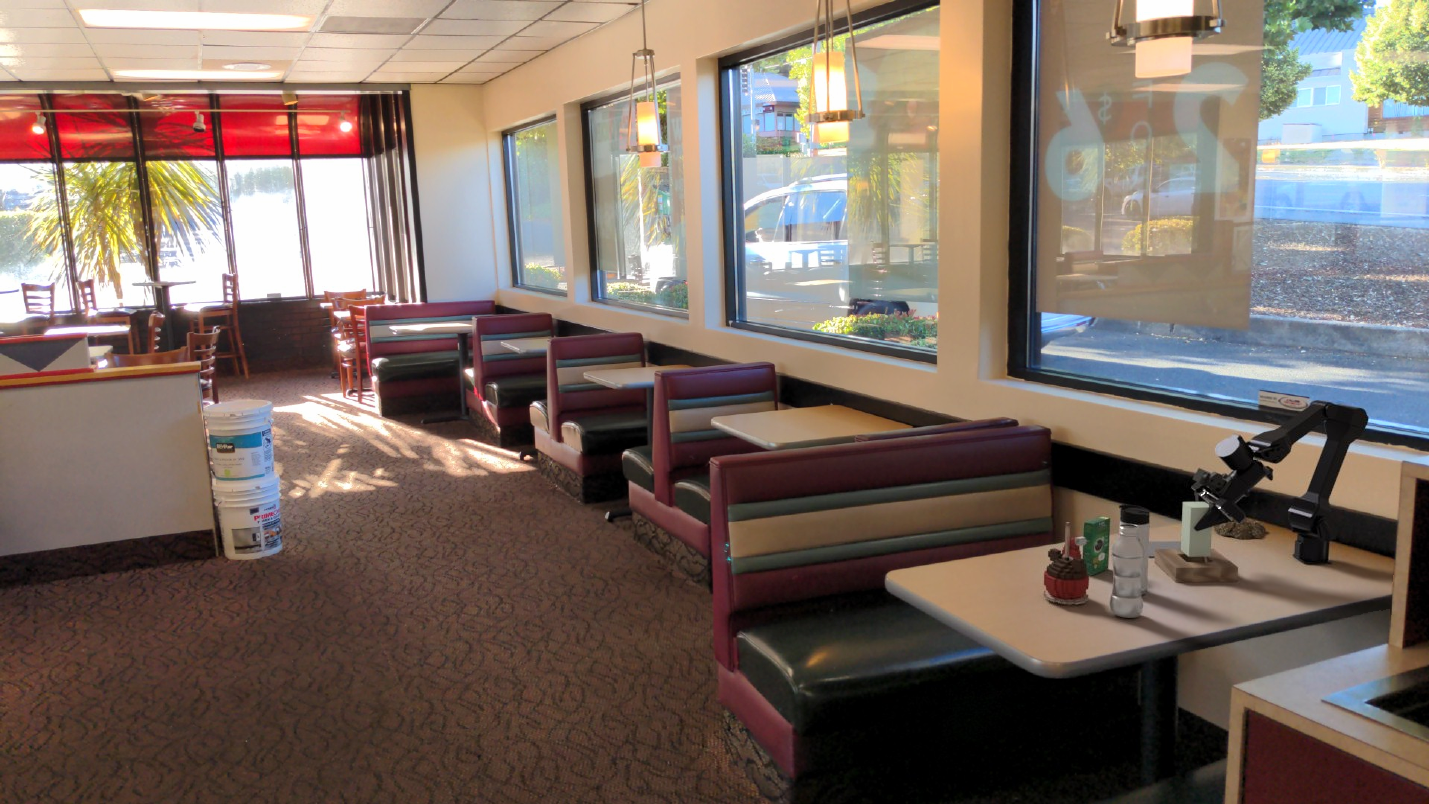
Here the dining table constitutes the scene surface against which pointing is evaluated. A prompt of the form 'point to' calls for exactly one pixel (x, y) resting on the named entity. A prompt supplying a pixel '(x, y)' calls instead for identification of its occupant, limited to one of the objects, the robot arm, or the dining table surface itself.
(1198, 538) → the block
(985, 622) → the dining table surface
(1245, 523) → the brown rock
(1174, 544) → the mat
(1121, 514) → the travel mug
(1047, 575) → the cake
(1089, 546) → the coffee box
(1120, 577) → the plastic bottle
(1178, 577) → the holder
